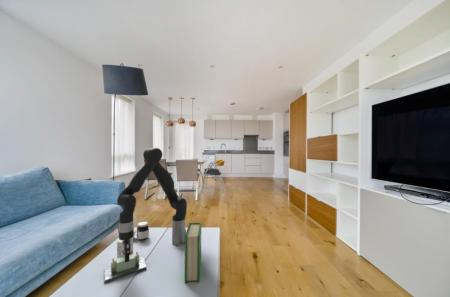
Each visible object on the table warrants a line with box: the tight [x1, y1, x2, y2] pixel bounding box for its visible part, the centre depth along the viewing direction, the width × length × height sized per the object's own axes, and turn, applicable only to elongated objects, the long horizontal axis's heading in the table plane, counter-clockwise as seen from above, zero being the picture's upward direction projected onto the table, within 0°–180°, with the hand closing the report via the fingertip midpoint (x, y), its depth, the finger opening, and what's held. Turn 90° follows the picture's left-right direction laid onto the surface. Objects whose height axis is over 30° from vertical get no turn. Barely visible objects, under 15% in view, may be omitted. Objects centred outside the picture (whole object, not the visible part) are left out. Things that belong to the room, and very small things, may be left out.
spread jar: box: [133, 221, 150, 241], centre depth 141 cm, size 12×11×12 cm
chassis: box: [103, 251, 147, 284], centre depth 104 cm, size 20×12×8 cm, turn 124°
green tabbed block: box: [110, 253, 139, 272], centre depth 104 cm, size 14×4×5 cm, turn 124°
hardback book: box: [184, 222, 202, 284], centre depth 103 cm, size 18×7×24 cm, turn 4°
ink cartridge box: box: [116, 237, 134, 259], centre depth 116 cm, size 9×5×15 cm, turn 168°
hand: (126, 257), depth 104 cm, fingers open, 8 cm apart
